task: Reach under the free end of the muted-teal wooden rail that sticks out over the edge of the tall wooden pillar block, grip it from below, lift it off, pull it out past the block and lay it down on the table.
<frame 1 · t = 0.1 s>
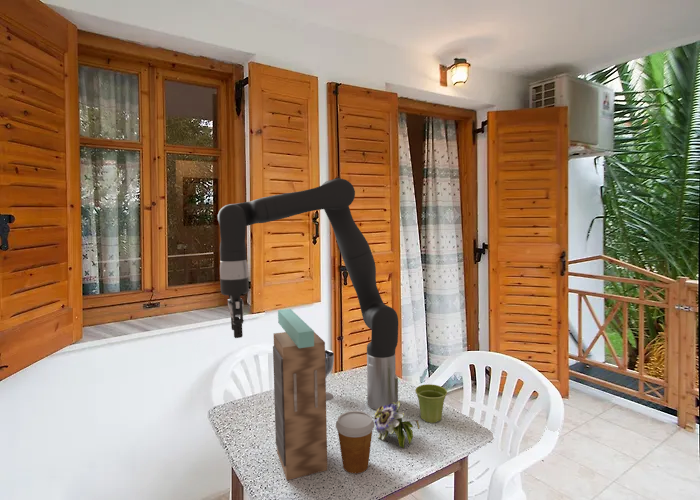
hand: (236, 333, 113), 29 cm above the table, tool pointing down, fingers open, 8 cm apart
plant pot: (431, 418, 123), on the table
passion flower: (394, 437, 113), on the table
disposable coffee cup: (355, 466, 100), on the table
wine glass: (323, 397, 138), on the table
rail: (294, 333, 103), point 32 cm above the table, touching tall wooden pillar block
tall wooden pillar block: (301, 461, 102), on the table
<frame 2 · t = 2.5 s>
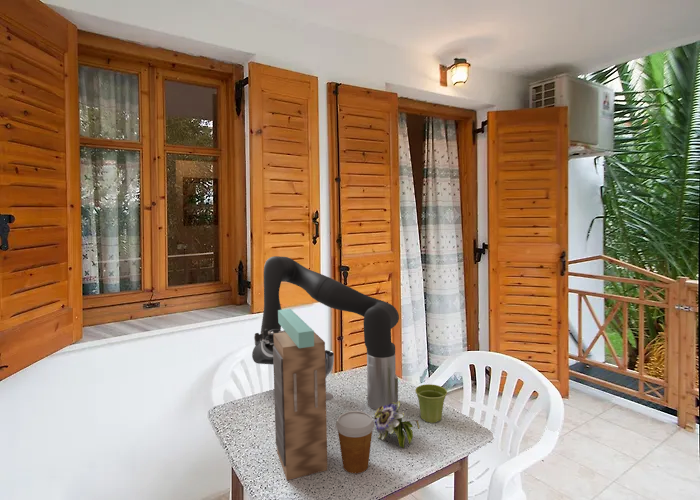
hand: (281, 330, 119), 28 cm above the table, tool pointing upward, fingers open, 8 cm apart
nothing on the table moved.
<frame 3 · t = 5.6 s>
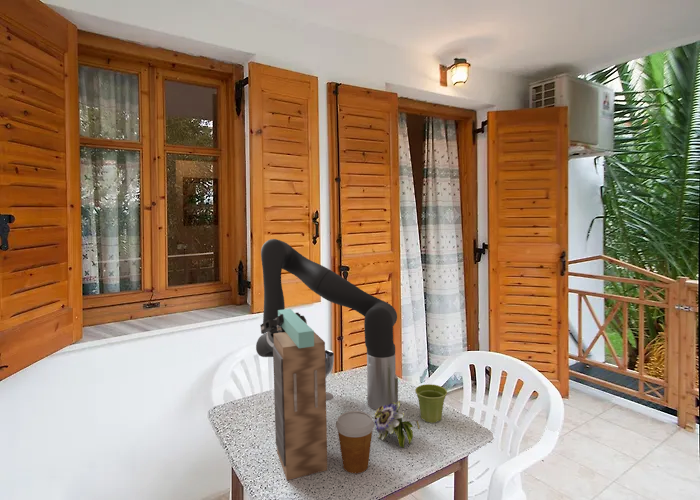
hand: (290, 316, 107), 35 cm above the table, tool pointing upward, fingers closed on rail, 3 cm apart
rail: (294, 333, 103), point 32 cm above the table, touching gripper, tall wooden pillar block
everything else where it was.
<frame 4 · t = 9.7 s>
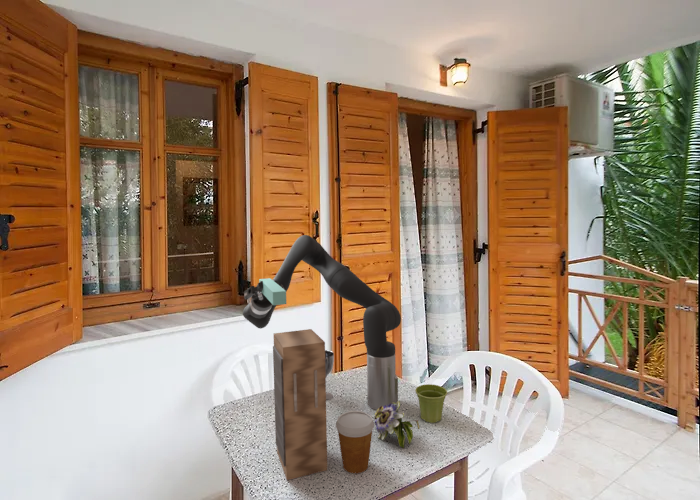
hand: (268, 283, 124), 41 cm above the table, tool pointing upward, fingers closed on rail, 3 cm apart
rail: (271, 296, 120), point 38 cm above the table, touching gripper
everything else where it was.
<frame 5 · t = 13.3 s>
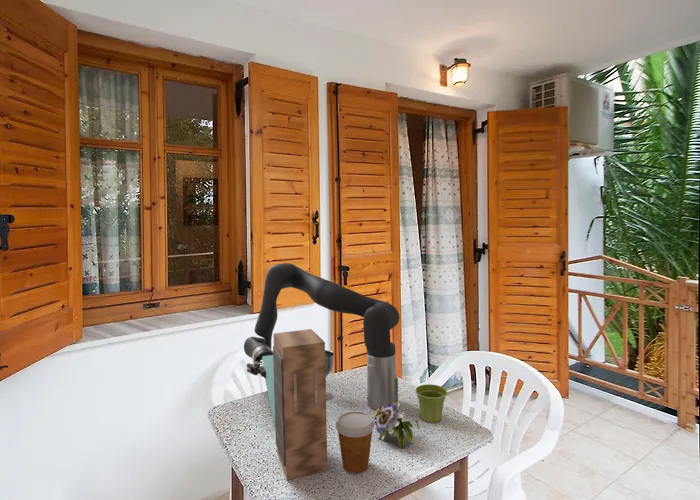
hand: (271, 373, 126), 13 cm above the table, tool horizontal, fingers closed on rail, 3 cm apart
rail: (273, 392, 124), point 8 cm above the table, tilted 27°, touching gripper
everything else where it was.
when the fingers open (12 cm above the table, at t = 14.0 s): rail drops 7 cm, on the table.
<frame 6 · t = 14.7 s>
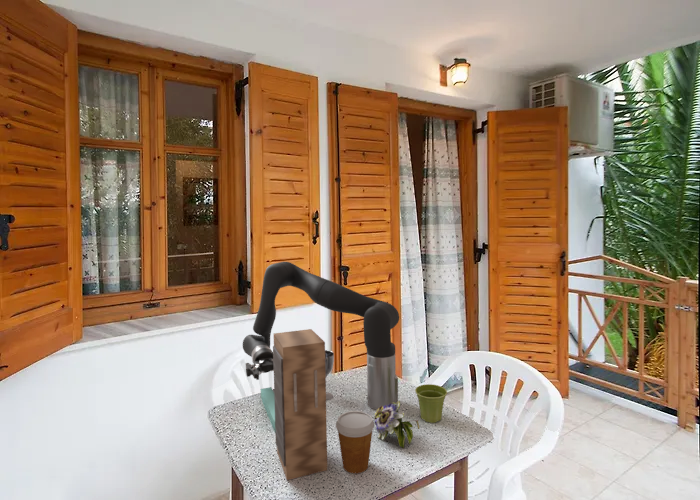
hand: (271, 374, 127), 12 cm above the table, tool horizontal, fingers open, 8 cm apart
rail: (273, 413, 127), on the table
everything else where it was.
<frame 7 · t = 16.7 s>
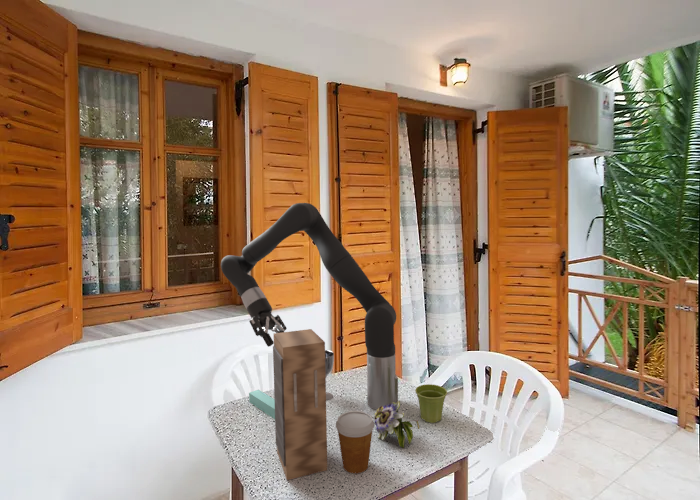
hand: (278, 343, 132), 20 cm above the table, tool tilted 40°, fingers open, 8 cm apart
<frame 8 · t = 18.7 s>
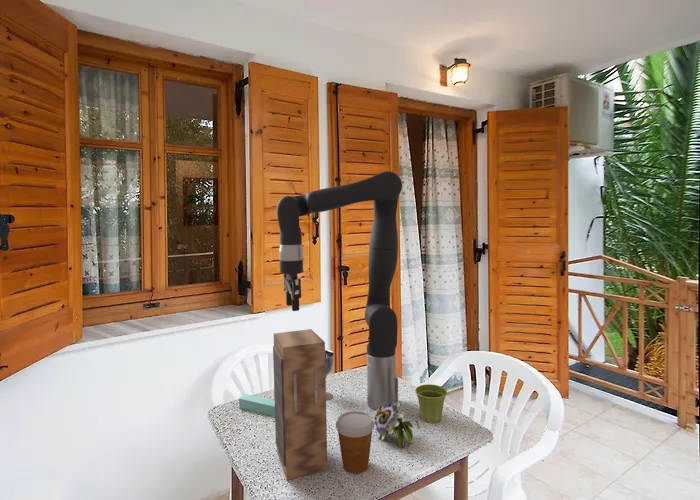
hand: (292, 307, 131), 32 cm above the table, tool pointing down, fingers open, 8 cm apart
at the end: rail inside the target area (3.1 cm from its centre), on the table; rail moved 40.5 cm from its start; the gripper is holding nothing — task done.
